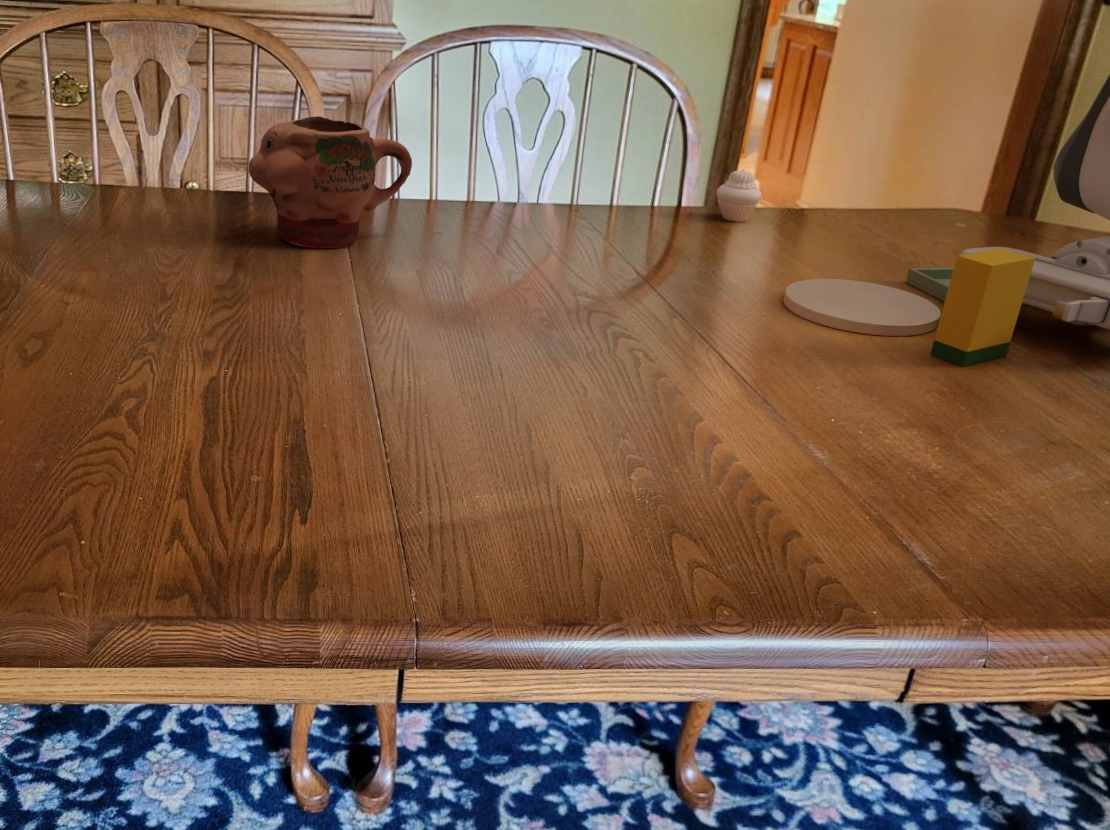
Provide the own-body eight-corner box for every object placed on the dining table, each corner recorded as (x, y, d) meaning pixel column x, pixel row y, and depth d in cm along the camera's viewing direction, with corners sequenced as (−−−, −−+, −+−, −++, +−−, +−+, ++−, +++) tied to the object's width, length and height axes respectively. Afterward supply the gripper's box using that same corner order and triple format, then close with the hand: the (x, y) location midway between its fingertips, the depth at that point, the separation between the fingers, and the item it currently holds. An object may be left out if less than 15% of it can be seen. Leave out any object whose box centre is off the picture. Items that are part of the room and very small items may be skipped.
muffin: (766, 222, 155) (775, 172, 152) (735, 226, 152) (744, 175, 149) (733, 212, 160) (741, 163, 157) (703, 215, 157) (711, 166, 154)
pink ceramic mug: (387, 222, 145) (392, 113, 139) (423, 246, 135) (430, 130, 129) (238, 230, 137) (236, 115, 131) (265, 256, 127) (264, 133, 121)
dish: (994, 281, 133) (998, 267, 133) (1045, 304, 125) (1050, 290, 125) (905, 282, 131) (909, 268, 130) (952, 306, 123) (956, 291, 122)
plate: (932, 301, 125) (934, 291, 124) (944, 345, 111) (947, 334, 110) (785, 281, 129) (787, 271, 128) (780, 321, 115) (782, 310, 115)
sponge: (973, 344, 112) (1000, 248, 107) (1006, 356, 109) (1035, 257, 105) (930, 354, 108) (956, 255, 104) (963, 366, 105) (991, 265, 101)
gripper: (1008, 228, 122) (930, 239, 115) (1205, 278, 106) (1128, 295, 99) (992, 283, 124) (915, 297, 118) (1182, 340, 109) (1106, 360, 102)
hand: (1014, 297), depth 108 cm, fingers open, 8 cm apart
